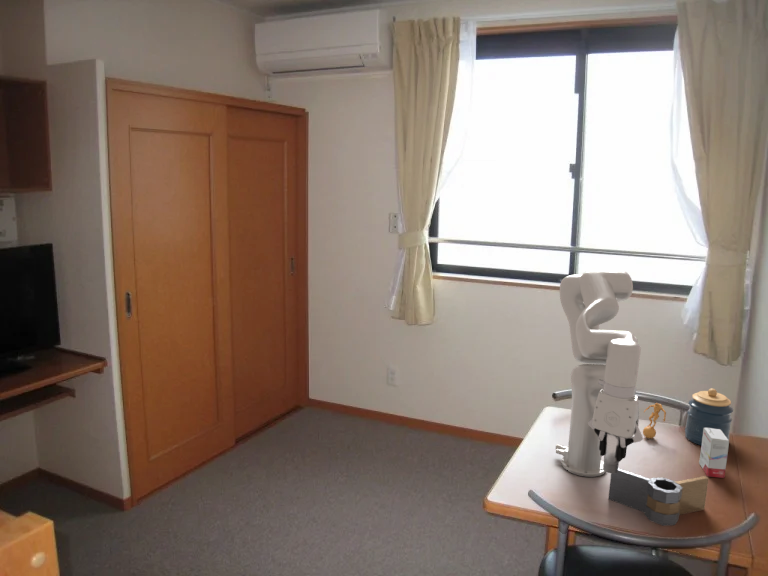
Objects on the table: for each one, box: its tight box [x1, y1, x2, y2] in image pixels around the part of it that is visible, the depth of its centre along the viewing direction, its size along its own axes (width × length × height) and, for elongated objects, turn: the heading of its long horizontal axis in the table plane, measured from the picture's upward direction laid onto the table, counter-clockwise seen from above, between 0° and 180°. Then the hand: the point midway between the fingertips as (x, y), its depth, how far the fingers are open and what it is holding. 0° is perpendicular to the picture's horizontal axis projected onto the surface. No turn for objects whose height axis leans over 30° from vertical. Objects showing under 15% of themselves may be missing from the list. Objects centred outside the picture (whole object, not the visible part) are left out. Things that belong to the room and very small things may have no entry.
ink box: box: [698, 428, 730, 479], centre depth 186 cm, size 9×5×12 cm, turn 168°
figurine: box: [642, 402, 667, 440], centre depth 207 cm, size 8×6×12 cm
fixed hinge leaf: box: [608, 467, 682, 527], centre depth 164 cm, size 17×7×9 cm, turn 50°
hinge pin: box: [603, 433, 620, 474], centre depth 160 cm, size 4×4×12 cm
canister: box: [684, 387, 734, 446], centre depth 206 cm, size 13×13×18 cm
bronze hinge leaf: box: [647, 475, 709, 516], centre depth 163 cm, size 17×7×9 cm, turn 109°
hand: (611, 456), depth 160 cm, fingers closed on hinge pin, 3 cm apart
